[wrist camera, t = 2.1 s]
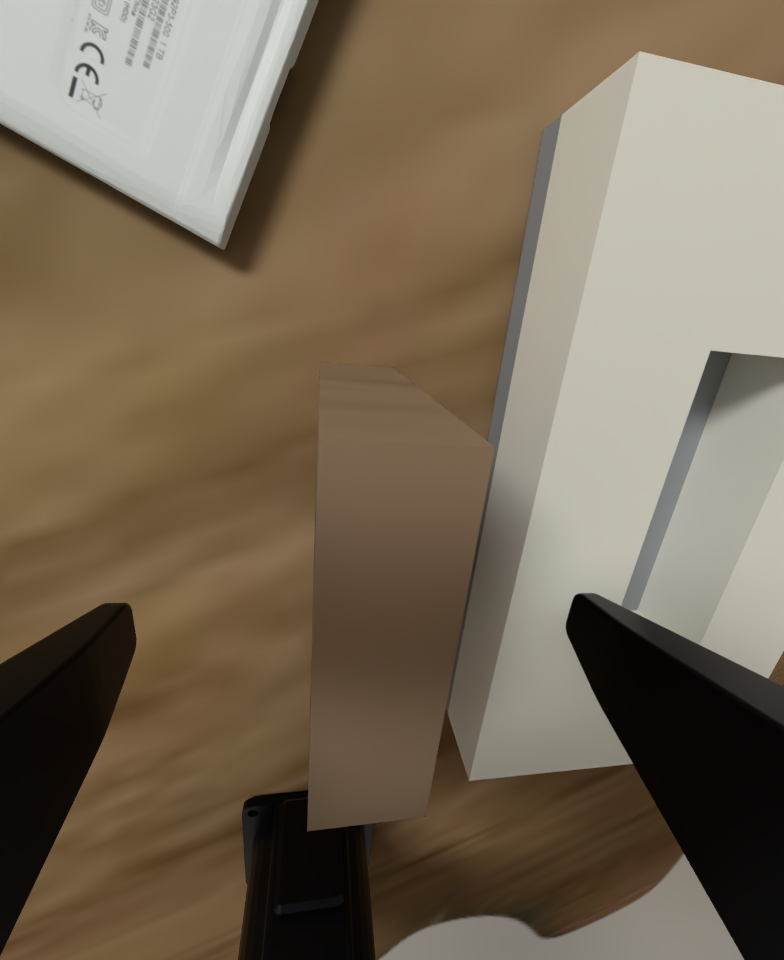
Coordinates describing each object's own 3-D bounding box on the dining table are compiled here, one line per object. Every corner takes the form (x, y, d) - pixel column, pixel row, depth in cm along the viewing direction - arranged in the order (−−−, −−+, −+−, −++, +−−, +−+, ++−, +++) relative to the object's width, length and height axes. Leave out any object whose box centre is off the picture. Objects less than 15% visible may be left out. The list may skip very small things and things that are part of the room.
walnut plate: (374, 570, 17) (425, 817, 9) (313, 571, 16) (307, 831, 8) (392, 367, 14) (494, 446, 6) (319, 361, 14) (319, 439, 5)
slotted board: (660, 680, 22) (727, 753, 18) (441, 695, 20) (468, 781, 16) (867, 192, 14) (1055, 150, 11) (543, 130, 12) (639, 51, 8)
